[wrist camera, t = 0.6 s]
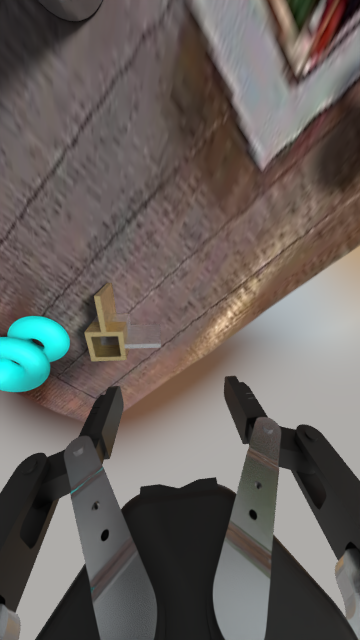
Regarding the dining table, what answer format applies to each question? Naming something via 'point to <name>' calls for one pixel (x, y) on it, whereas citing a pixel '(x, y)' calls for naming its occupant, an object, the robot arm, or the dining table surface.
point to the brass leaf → (106, 329)
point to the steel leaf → (134, 334)
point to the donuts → (30, 352)
